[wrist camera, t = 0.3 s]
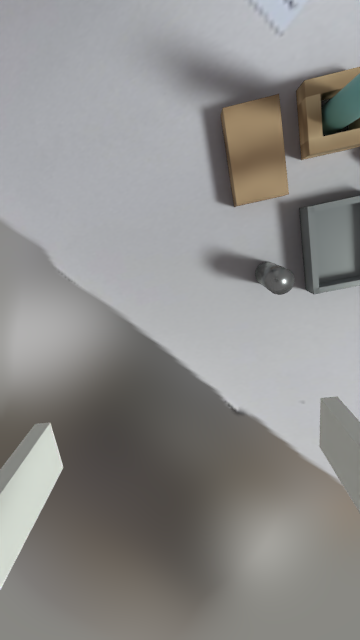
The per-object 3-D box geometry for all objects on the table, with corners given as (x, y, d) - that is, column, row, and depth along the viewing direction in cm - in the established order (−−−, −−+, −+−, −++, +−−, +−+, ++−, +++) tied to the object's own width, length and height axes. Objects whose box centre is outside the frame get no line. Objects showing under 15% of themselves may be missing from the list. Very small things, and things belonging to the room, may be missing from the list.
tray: (299, 208, 36) (307, 206, 34) (369, 193, 36) (383, 190, 33) (305, 290, 39) (313, 294, 37) (371, 277, 39) (383, 280, 36)
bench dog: (254, 264, 39) (265, 270, 33) (277, 259, 38) (293, 265, 33) (256, 286, 39) (268, 296, 34) (279, 282, 39) (295, 291, 33)
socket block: (296, 91, 33) (304, 80, 30) (361, 75, 32) (374, 63, 30) (301, 160, 35) (309, 155, 32) (362, 146, 34) (375, 140, 32)
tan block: (220, 116, 34) (222, 107, 32) (272, 103, 34) (278, 93, 31) (233, 207, 37) (236, 205, 35) (282, 196, 37) (288, 194, 34)
